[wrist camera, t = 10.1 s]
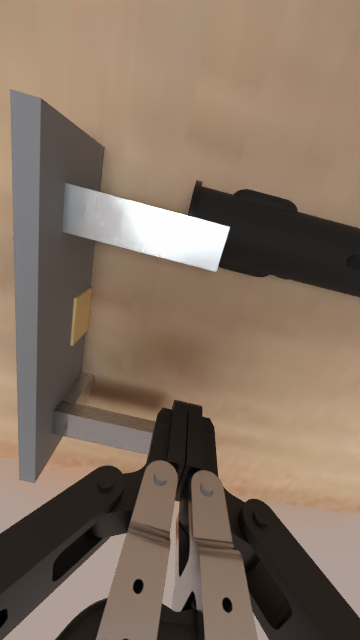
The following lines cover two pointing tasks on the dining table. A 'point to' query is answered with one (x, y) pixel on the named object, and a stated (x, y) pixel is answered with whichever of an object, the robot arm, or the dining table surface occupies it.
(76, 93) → the dining table surface
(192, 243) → the grey u-shaped bracket
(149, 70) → the dining table surface
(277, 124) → the dining table surface
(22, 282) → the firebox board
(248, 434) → the dining table surface
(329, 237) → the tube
